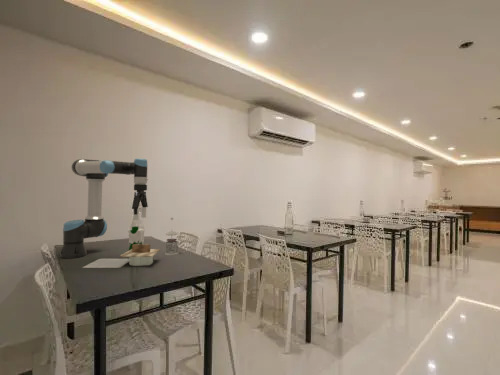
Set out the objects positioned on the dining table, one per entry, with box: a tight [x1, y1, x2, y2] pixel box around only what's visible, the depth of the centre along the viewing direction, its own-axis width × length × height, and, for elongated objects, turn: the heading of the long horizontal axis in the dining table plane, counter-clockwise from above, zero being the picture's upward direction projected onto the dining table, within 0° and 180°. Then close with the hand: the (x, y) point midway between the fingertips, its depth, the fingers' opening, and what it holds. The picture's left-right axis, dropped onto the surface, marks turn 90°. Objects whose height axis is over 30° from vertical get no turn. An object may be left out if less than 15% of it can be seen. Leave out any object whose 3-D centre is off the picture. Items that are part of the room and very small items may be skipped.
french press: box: [164, 217, 183, 256], centre depth 205 cm, size 10×12×25 cm
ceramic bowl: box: [128, 256, 154, 267], centre depth 178 cm, size 13×13×6 cm
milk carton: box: [127, 226, 146, 251], centre depth 195 cm, size 9×9×20 cm
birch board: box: [119, 243, 161, 258], centre depth 178 cm, size 18×18×5 cm
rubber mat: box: [81, 258, 129, 269], centre depth 177 cm, size 21×21×1 cm
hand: (140, 218), depth 180 cm, fingers open, 13 cm apart
